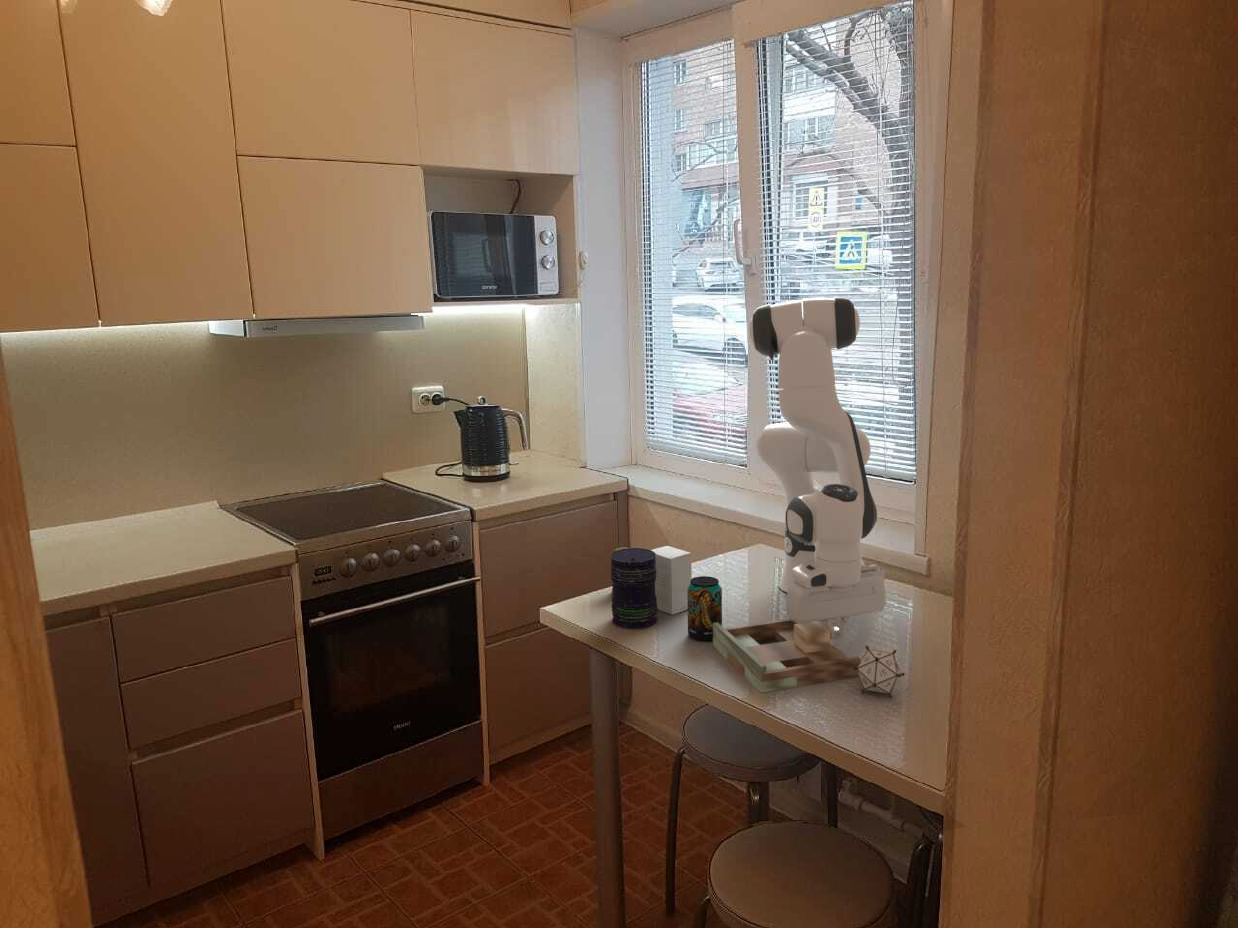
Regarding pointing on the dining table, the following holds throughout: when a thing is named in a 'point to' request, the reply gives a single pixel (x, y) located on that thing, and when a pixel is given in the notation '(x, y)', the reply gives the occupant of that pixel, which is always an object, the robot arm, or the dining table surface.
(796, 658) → the box
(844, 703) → the dining table surface
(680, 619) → the dining table surface
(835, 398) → the robot arm
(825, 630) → the beech block
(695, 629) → the beverage can
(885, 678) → the game die
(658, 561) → the small box
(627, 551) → the storage jar
